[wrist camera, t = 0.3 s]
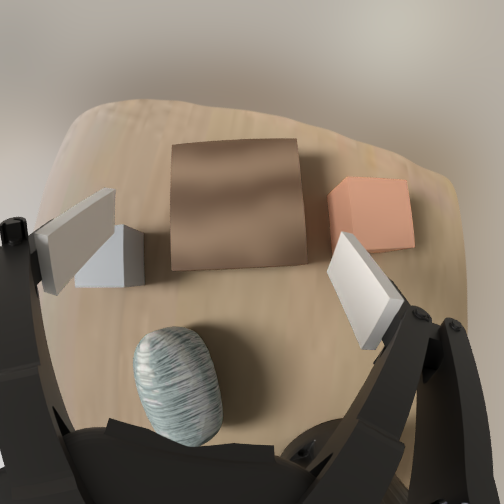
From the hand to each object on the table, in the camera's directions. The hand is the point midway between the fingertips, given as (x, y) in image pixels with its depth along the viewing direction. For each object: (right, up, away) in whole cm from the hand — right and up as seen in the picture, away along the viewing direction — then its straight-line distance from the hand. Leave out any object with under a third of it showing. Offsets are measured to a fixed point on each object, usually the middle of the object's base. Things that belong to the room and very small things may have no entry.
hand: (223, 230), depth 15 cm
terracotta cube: (+14, +2, +17) cm, 22 cm away
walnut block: (0, +4, +16) cm, 17 cm away
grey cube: (-14, -2, +15) cm, 21 cm away
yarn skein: (-6, -16, +15) cm, 22 cm away
